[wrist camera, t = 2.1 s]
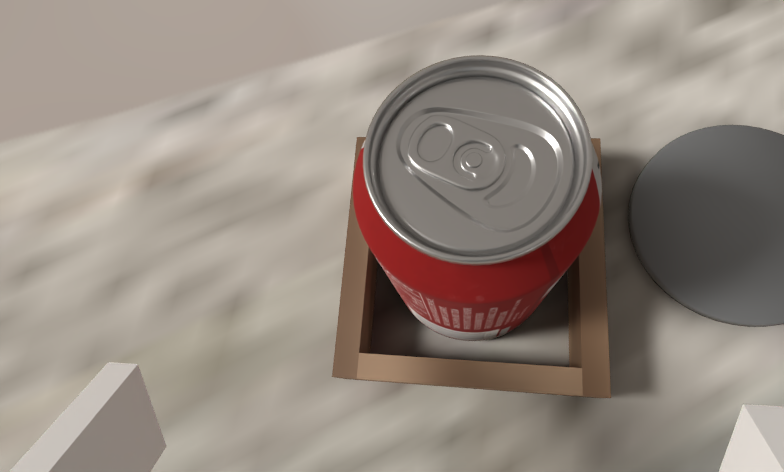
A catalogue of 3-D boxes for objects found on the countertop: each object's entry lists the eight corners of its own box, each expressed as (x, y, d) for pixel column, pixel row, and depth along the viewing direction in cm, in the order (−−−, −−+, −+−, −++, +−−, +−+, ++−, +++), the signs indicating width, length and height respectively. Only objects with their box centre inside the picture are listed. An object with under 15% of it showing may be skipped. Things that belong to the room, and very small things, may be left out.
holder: (587, 163, 25) (600, 138, 22) (595, 397, 22) (611, 397, 19) (366, 160, 26) (356, 137, 24) (345, 379, 23) (332, 376, 21)
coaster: (833, 131, 24) (843, 125, 23) (870, 333, 21) (881, 331, 20) (623, 131, 25) (627, 124, 24) (633, 320, 22) (638, 318, 22)
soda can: (504, 371, 22) (543, 345, 11) (370, 297, 24) (286, 209, 13) (571, 237, 24) (668, 92, 12) (439, 176, 26) (419, -1, 14)
